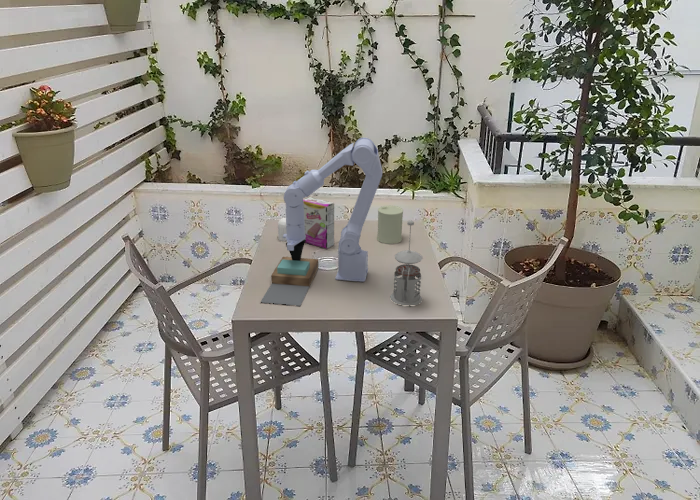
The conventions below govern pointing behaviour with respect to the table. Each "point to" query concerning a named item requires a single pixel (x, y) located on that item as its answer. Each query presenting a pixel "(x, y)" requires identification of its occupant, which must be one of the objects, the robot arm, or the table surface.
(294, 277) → the deck
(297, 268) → the teal rectangular block
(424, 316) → the table surface
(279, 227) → the white domed cylinder
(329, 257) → the table surface
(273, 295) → the mat
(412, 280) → the french press
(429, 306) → the table surface
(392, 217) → the can
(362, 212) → the robot arm
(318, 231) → the candy bar box
